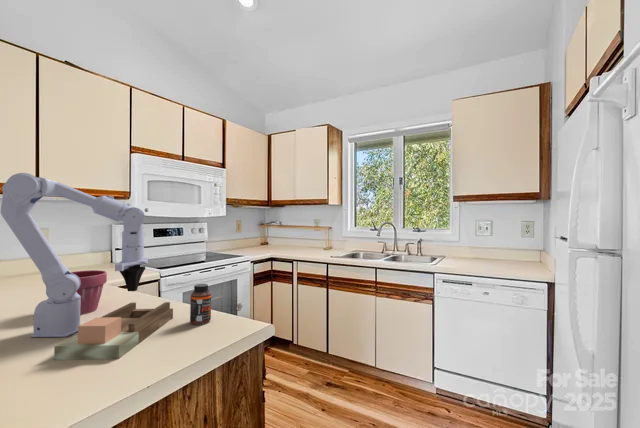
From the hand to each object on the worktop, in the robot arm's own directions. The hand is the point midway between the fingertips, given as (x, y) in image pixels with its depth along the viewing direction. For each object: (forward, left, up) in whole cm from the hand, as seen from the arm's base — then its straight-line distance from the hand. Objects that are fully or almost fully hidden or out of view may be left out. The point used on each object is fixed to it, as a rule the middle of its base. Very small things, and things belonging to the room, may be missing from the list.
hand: (132, 290), depth 93 cm
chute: (+4, -11, -9) cm, 15 cm away
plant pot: (-23, +11, -10) cm, 27 cm away
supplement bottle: (+21, -1, -10) cm, 23 cm away
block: (+4, -21, -6) cm, 22 cm away
